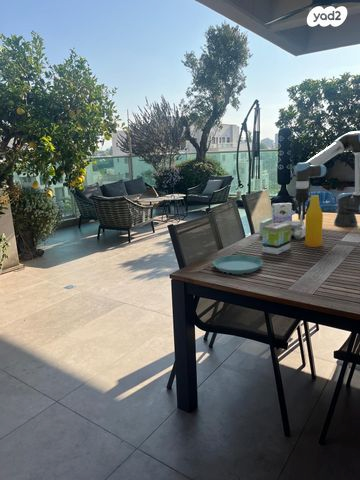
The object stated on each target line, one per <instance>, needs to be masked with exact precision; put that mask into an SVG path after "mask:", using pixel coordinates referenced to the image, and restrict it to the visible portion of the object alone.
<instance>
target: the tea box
mask: <svg viewBox="0 0 360 480" xmlns="http://www.w3.org/2000/svg"><path fill="white" fill-rule="evenodd" d="M291 239H292V237H291V224H284V223H274V224H271V225H268V226H264V227H263V236H262V253H266V254H267V253H268V254H272V255H279V254H281V253H283V252H285V251H288V250H290V249H291Z"/></svg>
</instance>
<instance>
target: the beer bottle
mask: <svg viewBox="0 0 360 480" xmlns="http://www.w3.org/2000/svg"><path fill="white" fill-rule="evenodd" d="M310 198H311V199H310V206H309V208H308V210H307V212H306V211H305V212H306V214H305V225H306V228H305V236H304V239H305V240H304V245H305V246H307V247H310V248H318V247H322V244H323V218H324V215H323V211H322V208H321V205H320V196H319V195H316V194H315V195H310Z"/></svg>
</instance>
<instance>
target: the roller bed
mask: <svg viewBox="0 0 360 480" xmlns="http://www.w3.org/2000/svg"><path fill="white" fill-rule="evenodd" d="M305 228H306V224H304V225H303V226H301V227H300V228H298V229H291V238H292V237H293V238H294V239H296V240H301V239H303V238H305Z"/></svg>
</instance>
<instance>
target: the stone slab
mask: <svg viewBox="0 0 360 480" xmlns="http://www.w3.org/2000/svg"><path fill="white" fill-rule="evenodd" d="M282 223H284V224H291V229H298V228H301V227H302V226H305V224H304V223H305V222H304V221H303V225H300V220H292V221H284V222H282Z"/></svg>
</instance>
